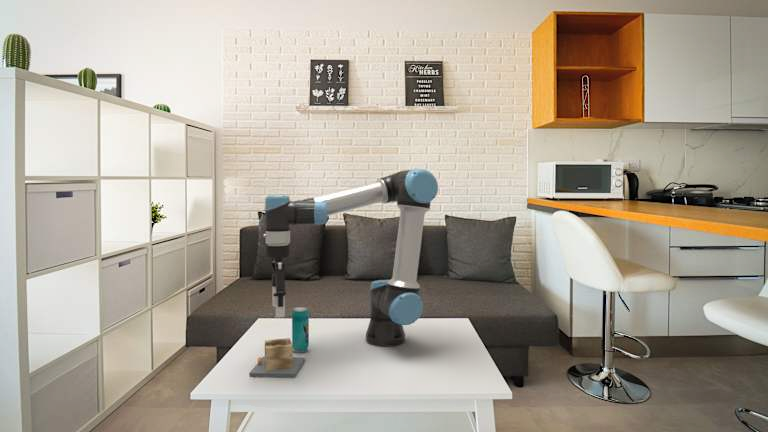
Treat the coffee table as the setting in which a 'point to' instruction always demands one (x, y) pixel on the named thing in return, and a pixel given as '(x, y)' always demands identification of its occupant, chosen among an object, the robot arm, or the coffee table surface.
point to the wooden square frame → (278, 354)
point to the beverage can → (300, 329)
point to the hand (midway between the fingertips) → (278, 311)
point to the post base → (281, 373)
